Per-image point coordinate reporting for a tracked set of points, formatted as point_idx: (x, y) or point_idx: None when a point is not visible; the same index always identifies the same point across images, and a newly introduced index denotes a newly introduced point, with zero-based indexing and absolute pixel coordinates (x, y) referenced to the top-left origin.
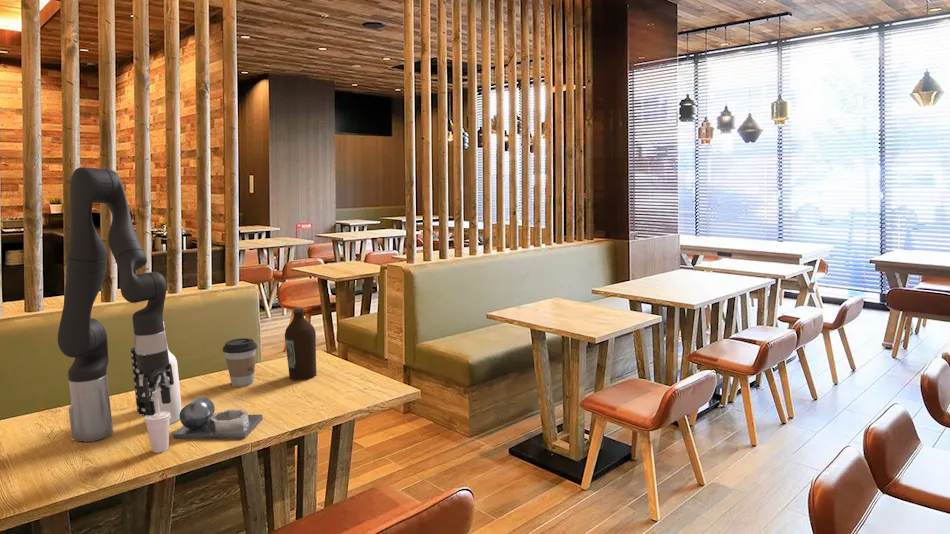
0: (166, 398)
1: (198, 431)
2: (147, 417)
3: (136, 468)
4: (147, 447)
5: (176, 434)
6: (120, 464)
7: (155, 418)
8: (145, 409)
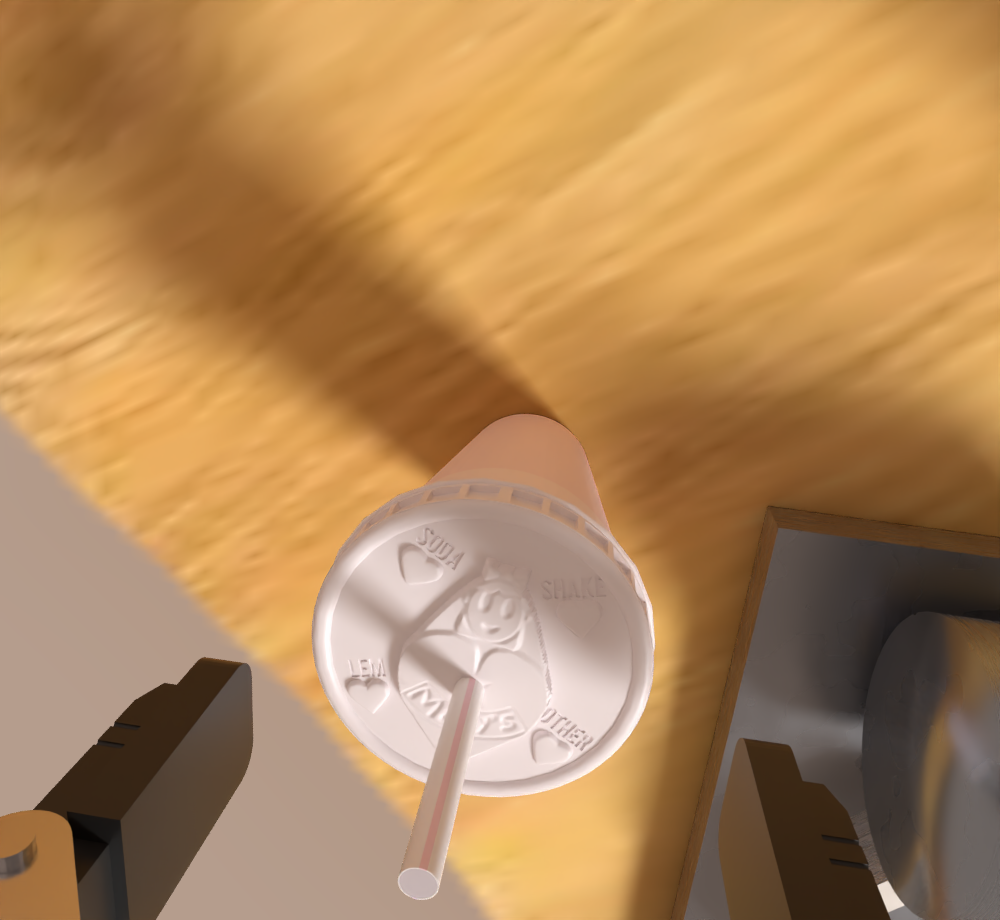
0: (742, 867)
1: (790, 730)
2: (404, 560)
3: (178, 406)
4: (613, 327)
5: (770, 558)
6: (251, 229)
7: (370, 668)
8: (104, 738)
